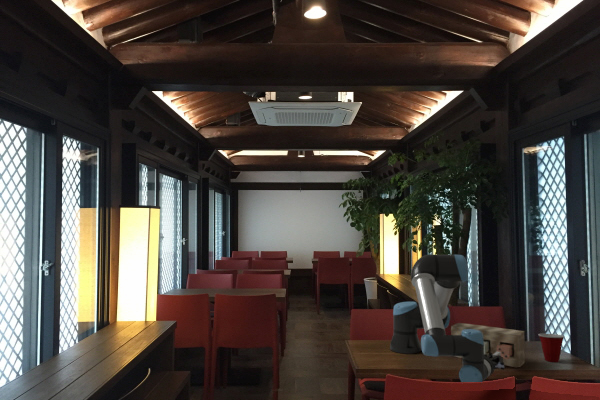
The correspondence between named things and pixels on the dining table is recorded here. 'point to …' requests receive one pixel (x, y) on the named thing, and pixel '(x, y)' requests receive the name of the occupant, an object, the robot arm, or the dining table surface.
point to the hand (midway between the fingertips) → (498, 355)
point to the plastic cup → (551, 346)
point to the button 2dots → (486, 346)
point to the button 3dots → (505, 350)
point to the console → (498, 341)
